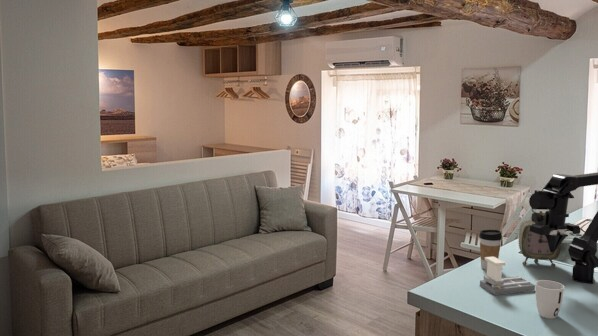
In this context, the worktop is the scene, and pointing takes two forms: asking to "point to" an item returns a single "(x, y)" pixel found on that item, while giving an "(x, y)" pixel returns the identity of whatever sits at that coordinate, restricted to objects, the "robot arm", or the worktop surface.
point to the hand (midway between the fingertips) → (551, 252)
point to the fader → (494, 270)
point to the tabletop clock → (535, 244)
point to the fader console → (508, 286)
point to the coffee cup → (489, 245)
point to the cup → (549, 298)
